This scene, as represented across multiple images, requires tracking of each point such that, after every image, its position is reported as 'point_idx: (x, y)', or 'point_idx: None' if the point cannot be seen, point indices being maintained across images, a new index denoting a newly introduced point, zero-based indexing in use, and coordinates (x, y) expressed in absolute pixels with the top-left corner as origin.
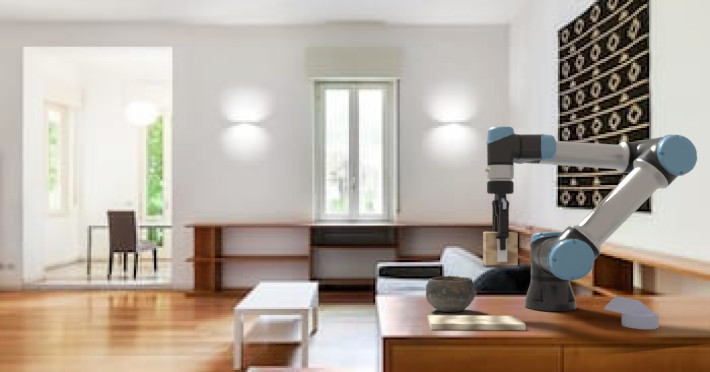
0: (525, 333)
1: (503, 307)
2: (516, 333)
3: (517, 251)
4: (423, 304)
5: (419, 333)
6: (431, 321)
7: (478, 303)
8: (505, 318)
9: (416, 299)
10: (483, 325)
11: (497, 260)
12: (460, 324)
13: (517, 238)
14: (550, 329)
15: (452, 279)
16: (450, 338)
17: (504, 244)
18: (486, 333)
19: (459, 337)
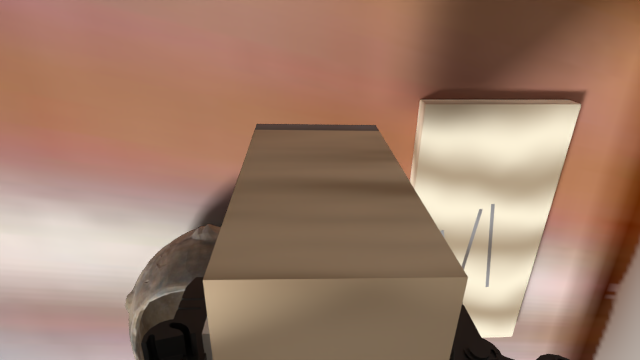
0: (609, 110)
1: (117, 79)
2: (602, 136)
3: (400, 170)
4: (118, 327)
5: (539, 346)
6: (484, 335)
7: (38, 161)
8: (471, 147)
9: (17, 342)
10: (543, 222)
11: None
12: (528, 277)
13: (438, 234)
14: (575, 6)
15: (138, 332)
16: (608, 295)
17: (463, 315)
18: (578, 214)
19: (604, 277)
